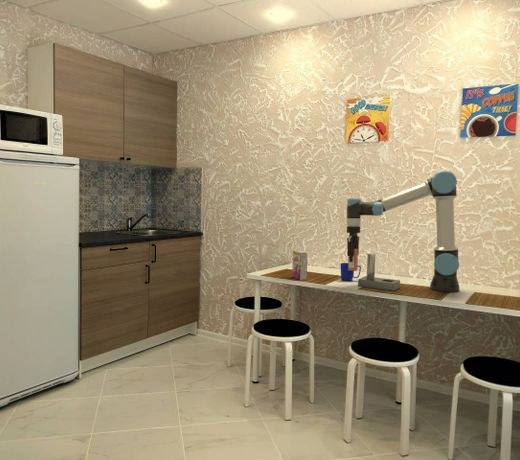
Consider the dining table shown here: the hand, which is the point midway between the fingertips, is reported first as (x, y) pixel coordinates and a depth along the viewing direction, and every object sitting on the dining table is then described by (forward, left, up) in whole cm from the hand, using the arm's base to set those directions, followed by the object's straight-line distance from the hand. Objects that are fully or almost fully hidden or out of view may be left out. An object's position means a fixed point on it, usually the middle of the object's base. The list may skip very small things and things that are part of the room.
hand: (352, 267), depth 260 cm
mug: (+7, -14, -11) cm, 19 cm away
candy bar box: (+34, 0, -11) cm, 35 cm away
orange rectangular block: (0, 0, -2) cm, 2 cm away
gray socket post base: (-13, -6, -10) cm, 18 cm away
